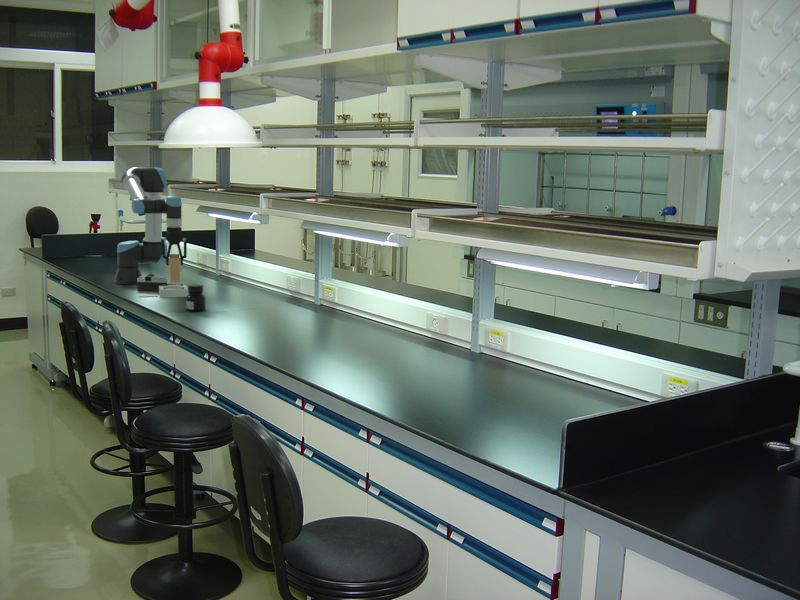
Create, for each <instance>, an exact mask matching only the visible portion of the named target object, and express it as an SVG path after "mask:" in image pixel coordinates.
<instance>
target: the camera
mask: <svg viewBox="0 0 800 600" xmlns="http://www.w3.org/2000/svg"><path fill="white" fill-rule="evenodd" d="M142 277H143V275H142V276H139V278H137V284H136V285H137V287H136V291H137V293H147V292H148V293H157V294H159V286H163V284H165V285H168V279H167V278H166V276H161V277H160V276H157V275H155V274H153V273H152V272H150V273H148V274H147V275H145V276H144V277H143V278H142Z"/></svg>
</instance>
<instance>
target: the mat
mask: <svg viewBox="0 0 800 600" xmlns="http://www.w3.org/2000/svg"><path fill="white" fill-rule="evenodd" d="M158 295H159V294H158V293H147V292H141V293H138V298H154V297H155V298H158Z"/></svg>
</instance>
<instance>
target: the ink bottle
mask: <svg viewBox="0 0 800 600" xmlns="http://www.w3.org/2000/svg"><path fill="white" fill-rule="evenodd" d="M187 288H188V295H187V296H186V297H185V310H186V311H187V312H191V313H193V312H195V313H196V312H204V311H206V296H205V295H204V294H203V293H204V285H203V284H201V283H200V284H198V283H196V284H195V283H192V284H188V285H187Z"/></svg>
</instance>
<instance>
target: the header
mask: <svg viewBox="0 0 800 600" xmlns="http://www.w3.org/2000/svg"><path fill="white" fill-rule="evenodd" d="M188 294H189V293H188V285H187V284H183V283H181V284H178V285H177V284H176V285H173V284H172V285H171V284H170V285H168V284H167V285H165V284H163V286H159V293H158V295H159V298H186V296H187V295H188Z"/></svg>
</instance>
